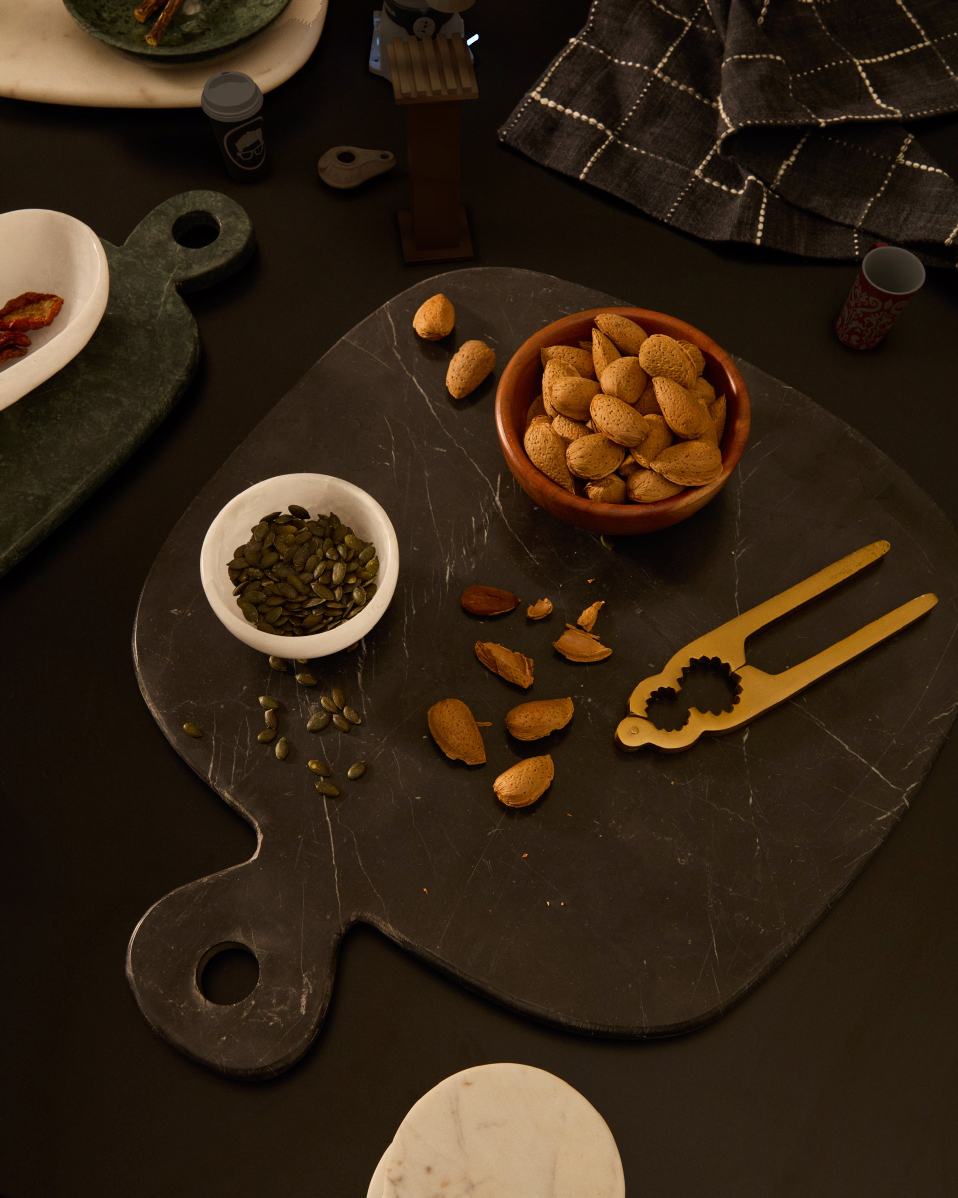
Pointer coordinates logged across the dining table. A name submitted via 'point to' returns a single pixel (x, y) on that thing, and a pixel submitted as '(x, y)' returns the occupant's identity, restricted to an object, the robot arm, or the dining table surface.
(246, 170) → the coffee cup
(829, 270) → the dining table surface
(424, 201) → the stand
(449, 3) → the enamel cup
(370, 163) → the pottery oil lamp
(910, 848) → the dining table surface
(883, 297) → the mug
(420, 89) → the wooden slatted trivet
